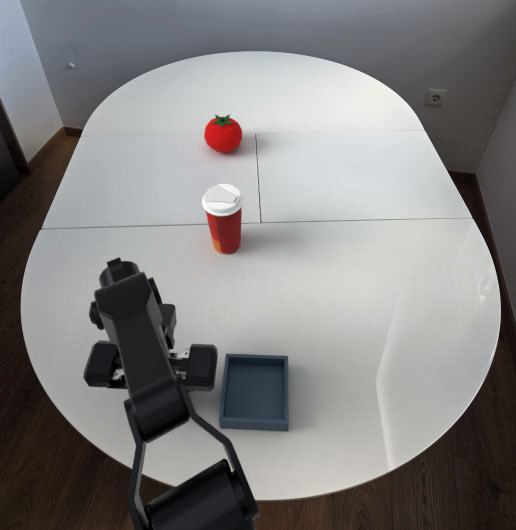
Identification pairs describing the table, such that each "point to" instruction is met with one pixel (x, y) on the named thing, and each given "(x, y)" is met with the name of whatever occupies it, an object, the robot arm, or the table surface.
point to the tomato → (223, 134)
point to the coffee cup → (224, 216)
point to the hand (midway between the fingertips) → (161, 387)
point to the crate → (254, 393)
